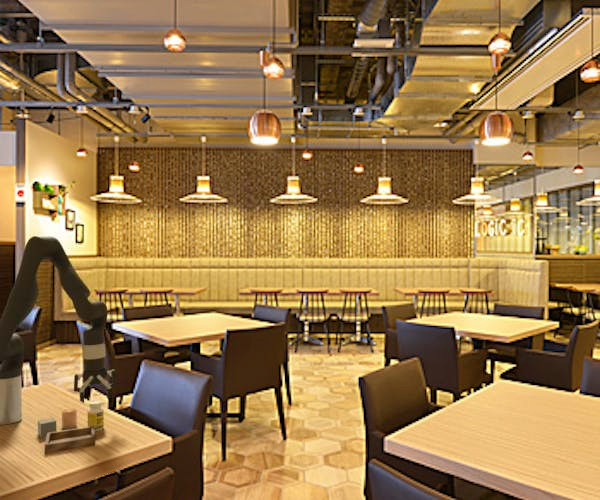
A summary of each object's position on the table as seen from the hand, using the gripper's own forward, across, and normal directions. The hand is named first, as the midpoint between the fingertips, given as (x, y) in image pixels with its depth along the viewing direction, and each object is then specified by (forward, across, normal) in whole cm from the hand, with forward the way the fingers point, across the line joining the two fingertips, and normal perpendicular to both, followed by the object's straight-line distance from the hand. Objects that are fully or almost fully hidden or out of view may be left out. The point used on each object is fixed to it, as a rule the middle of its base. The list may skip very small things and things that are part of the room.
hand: (95, 400), depth 184 cm
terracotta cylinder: (+10, +9, -7) cm, 16 cm away
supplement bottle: (+11, 0, 0) cm, 11 cm away
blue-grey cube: (+10, +16, -2) cm, 19 cm away
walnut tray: (+10, +8, +11) cm, 17 cm away
